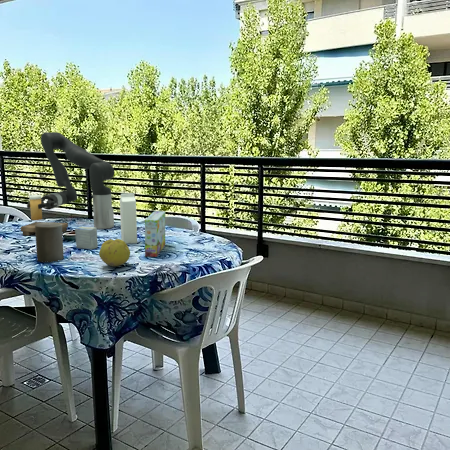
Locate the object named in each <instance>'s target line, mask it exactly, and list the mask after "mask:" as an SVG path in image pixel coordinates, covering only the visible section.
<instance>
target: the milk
mask: <svg viewBox="0 0 450 450" xmlns="http://www.w3.org/2000/svg"><path fill="white" fill-rule="evenodd" d="M119 210H120V211H119V214H120V217H119V218H120V234H121V235H120V236H121V237H120V238H121V239H120V240H123V241H124V242H125V243H126V245H129V244H137V243H138V227H137V225H138V224H137V223H138V222H137V201H136V196H135V193H134V192H129V193H126V192H124V193H120V198H119Z"/></svg>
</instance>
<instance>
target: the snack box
mask: <svg viewBox="0 0 450 450" xmlns="http://www.w3.org/2000/svg"><path fill="white" fill-rule="evenodd" d="M165 246H166V211H162V210H160V211H157V210H156V211H153V212H151V214H150V215H148V217H146V218H145V219H144V257H150V258H151V257H152V258H155V257H157V258H158V256H159V255H160V253H161V251H162V250H164V247H165Z"/></svg>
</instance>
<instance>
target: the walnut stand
mask: <svg viewBox="0 0 450 450" xmlns="http://www.w3.org/2000/svg"><path fill="white" fill-rule="evenodd" d="M48 222H49V221H48ZM48 222H46V221H35V222H32V223H29V224H26V225H22V226H20V232H22V236H31V235H33V234H36V233H35V225H36V224H39V223H48ZM60 223H61V224H62V232H64V231H66V232H67V231H68V228H69V223H67V222H60ZM64 233H65V232H64Z"/></svg>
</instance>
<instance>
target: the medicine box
mask: <svg viewBox="0 0 450 450" xmlns="http://www.w3.org/2000/svg"><path fill="white" fill-rule="evenodd" d="M74 229H75V230H74V233H75V245H76V246H75V247H76V249H84V250H94V249H96V248H98V247H99V244H98V232H97V231H98V229H97V228H94V227H93V226H78V227H76V228H74Z"/></svg>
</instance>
